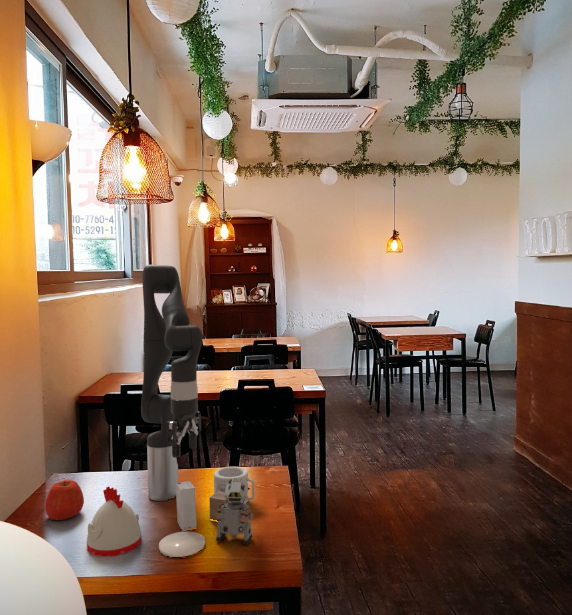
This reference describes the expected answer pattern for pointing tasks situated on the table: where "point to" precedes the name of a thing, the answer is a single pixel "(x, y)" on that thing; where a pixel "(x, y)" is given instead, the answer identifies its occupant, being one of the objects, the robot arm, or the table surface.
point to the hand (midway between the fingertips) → (184, 452)
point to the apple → (64, 500)
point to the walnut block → (216, 503)
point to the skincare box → (186, 505)
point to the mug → (229, 473)
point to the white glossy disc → (181, 544)
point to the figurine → (235, 512)
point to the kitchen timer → (113, 527)
